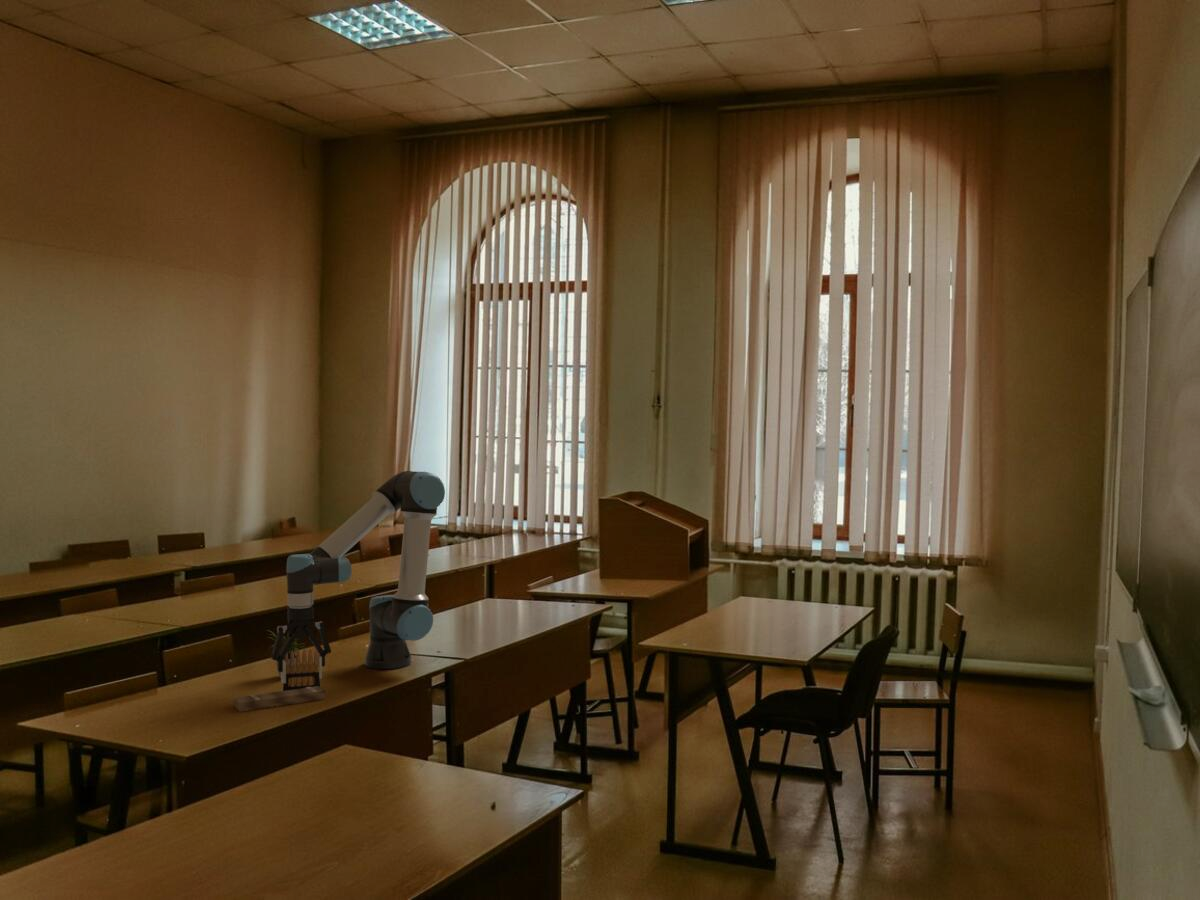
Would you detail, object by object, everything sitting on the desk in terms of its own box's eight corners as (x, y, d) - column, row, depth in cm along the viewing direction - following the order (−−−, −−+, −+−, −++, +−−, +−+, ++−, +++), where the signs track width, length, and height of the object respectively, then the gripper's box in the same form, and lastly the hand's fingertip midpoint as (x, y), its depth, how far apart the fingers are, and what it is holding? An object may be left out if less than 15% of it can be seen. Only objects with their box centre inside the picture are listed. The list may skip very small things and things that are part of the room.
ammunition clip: (320, 687, 310) (319, 647, 310) (320, 688, 308) (319, 649, 308) (283, 689, 308) (282, 650, 308) (282, 691, 306) (282, 651, 306)
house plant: (252, 681, 319) (251, 629, 319) (271, 671, 333) (270, 621, 333) (295, 682, 318) (295, 630, 317) (313, 672, 332) (312, 621, 331)
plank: (318, 694, 304) (318, 685, 304) (325, 699, 298) (324, 690, 298) (234, 706, 291) (234, 697, 291) (239, 711, 286) (239, 702, 285)
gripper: (333, 600, 317) (335, 672, 317) (258, 608, 305) (260, 682, 305) (341, 604, 310) (342, 677, 311) (265, 612, 298) (266, 688, 299)
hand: (301, 679), depth 308 cm, fingers closed on ammunition clip, 10 cm apart
